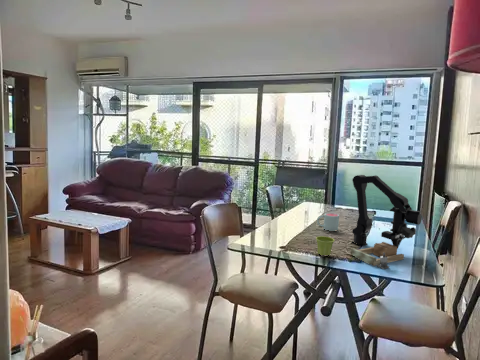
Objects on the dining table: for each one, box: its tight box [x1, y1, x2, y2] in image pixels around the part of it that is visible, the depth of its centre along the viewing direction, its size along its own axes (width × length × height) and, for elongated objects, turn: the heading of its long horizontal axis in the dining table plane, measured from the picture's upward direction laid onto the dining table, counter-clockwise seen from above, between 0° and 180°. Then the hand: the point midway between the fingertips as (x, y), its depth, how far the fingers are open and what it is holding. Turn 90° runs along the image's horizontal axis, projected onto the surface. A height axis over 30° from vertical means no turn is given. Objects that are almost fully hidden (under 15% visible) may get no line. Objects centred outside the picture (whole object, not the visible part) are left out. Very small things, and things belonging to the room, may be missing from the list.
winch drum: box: [376, 253, 390, 270], centre depth 174 cm, size 4×4×7 cm
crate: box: [372, 241, 398, 258], centre depth 190 cm, size 8×8×6 cm
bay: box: [350, 246, 405, 267], centre depth 188 cm, size 15×22×4 cm
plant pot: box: [315, 235, 335, 256], centre depth 188 cm, size 9×9×9 cm
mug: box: [316, 212, 340, 232], centre depth 236 cm, size 14×9×10 cm
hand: (396, 249), depth 195 cm, fingers closed
